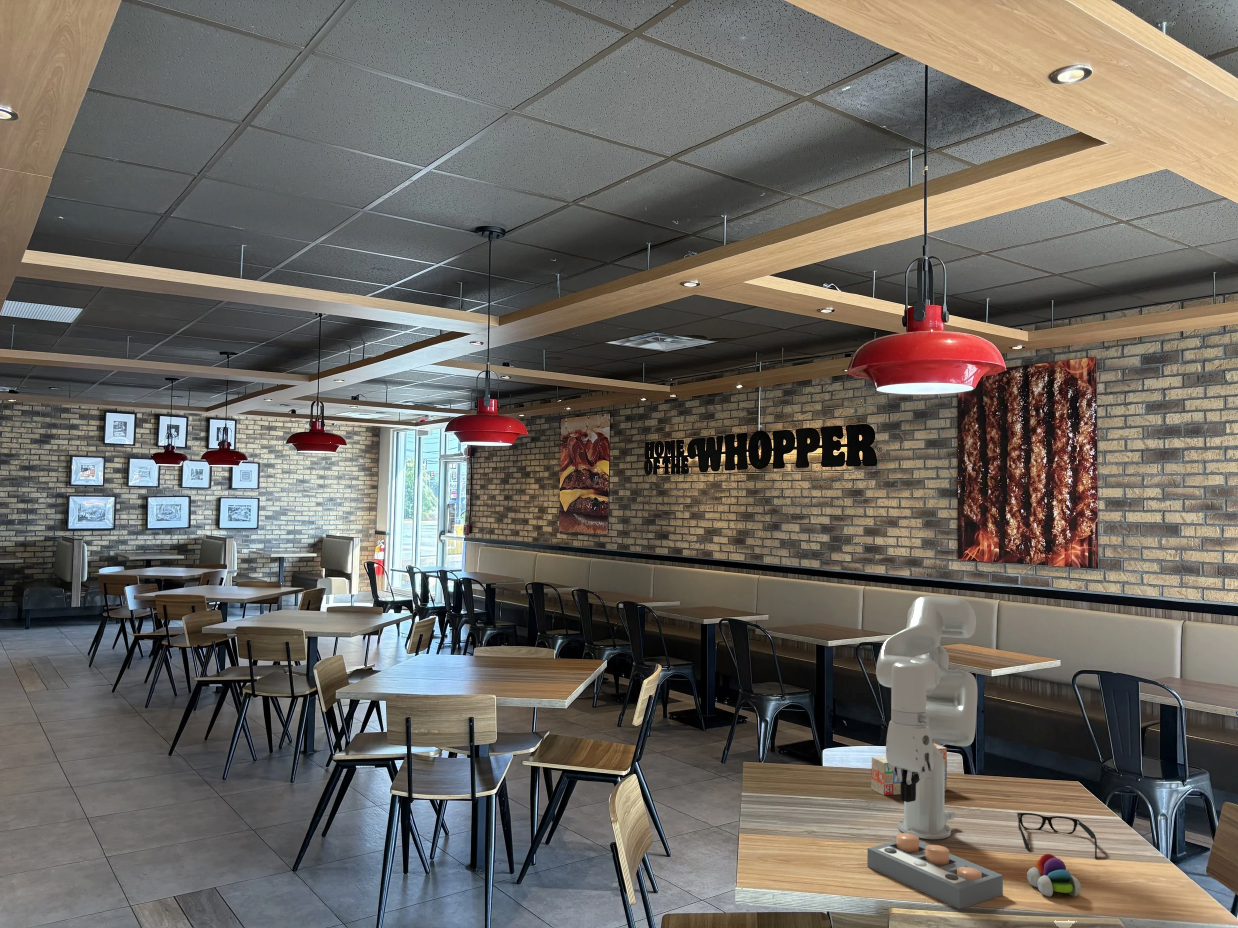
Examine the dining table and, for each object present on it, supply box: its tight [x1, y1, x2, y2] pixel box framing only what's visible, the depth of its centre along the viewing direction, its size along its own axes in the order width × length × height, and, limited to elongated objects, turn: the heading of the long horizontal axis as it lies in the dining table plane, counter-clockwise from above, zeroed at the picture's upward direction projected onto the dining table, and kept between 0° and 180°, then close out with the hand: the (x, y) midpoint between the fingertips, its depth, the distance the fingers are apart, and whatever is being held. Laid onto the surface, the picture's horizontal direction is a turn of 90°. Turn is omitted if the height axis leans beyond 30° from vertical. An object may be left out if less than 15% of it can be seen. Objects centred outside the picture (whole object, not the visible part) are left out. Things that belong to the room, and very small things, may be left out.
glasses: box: [1016, 812, 1098, 860], centre depth 213 cm, size 17×18×5 cm
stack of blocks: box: [870, 743, 948, 796], centre depth 252 cm, size 21×6×12 cm, turn 108°
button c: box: [957, 867, 982, 881], centre depth 182 cm, size 5×5×3 cm
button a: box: [896, 832, 920, 854], centre depth 196 cm, size 5×5×3 cm
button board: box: [866, 840, 1004, 910], centre depth 188 cm, size 14×24×4 cm, turn 32°
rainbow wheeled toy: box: [1026, 853, 1082, 898], centre depth 184 cm, size 8×10×7 cm
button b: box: [926, 844, 950, 867], centre depth 189 cm, size 5×5×3 cm
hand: (908, 800), depth 196 cm, fingers closed
